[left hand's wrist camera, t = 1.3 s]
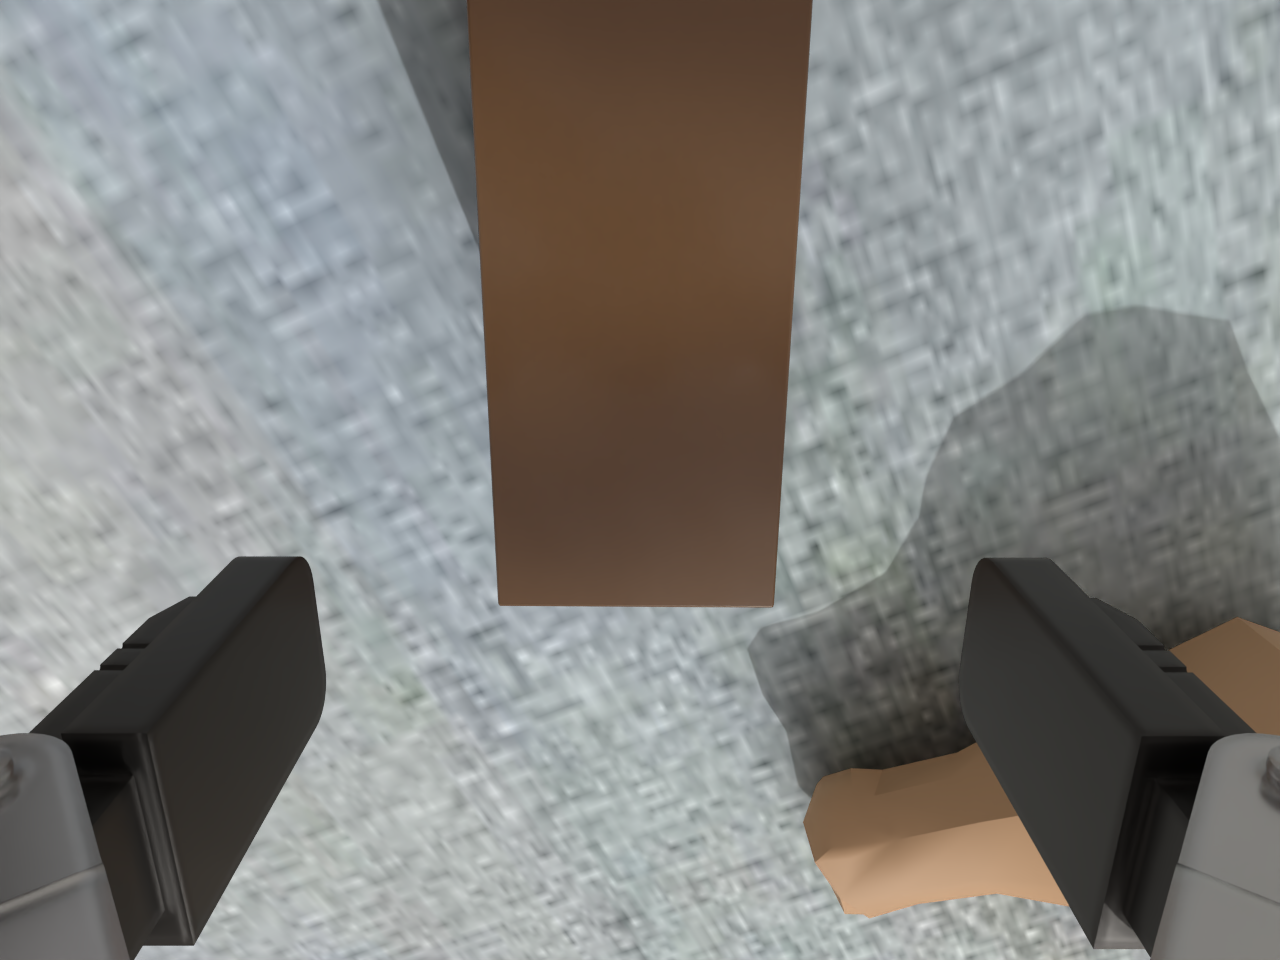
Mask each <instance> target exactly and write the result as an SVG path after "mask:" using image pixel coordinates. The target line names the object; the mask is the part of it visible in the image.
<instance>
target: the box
mask: <svg viewBox="0 0 1280 960" xmlns="http://www.w3.org/2000/svg"><path fill="white" fill-rule="evenodd" d="M466 2H467V21H468V40H469V59H470V78H471V97H472V115H473V134H474V153H475V172H476V191H477V210H478V229H479V248H480V267H481V286H482V305H483V324H484V343H485V362H486V380H487V399H488V418H489V437H490V456H491V475H492V494H493V513H494V532H495V551H496V570H497V589H498V603H499V605H500V606H624V607H773V605H774V594H775V579H776V563H777V548H778V532H779V517H780V501H781V485H782V470H783V454H784V439H785V423H786V408H787V392H788V376H789V361H790V345H791V330H792V314H793V299H794V283H795V268H796V252H797V236H798V221H799V205H800V190H801V174H802V159H803V143H804V128H805V112H806V96H807V81H808V65H809V50H810V34H811V19H812V3H813V0H466Z"/></svg>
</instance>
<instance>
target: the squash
mask: <svg viewBox="0 0 1280 960" xmlns="http://www.w3.org/2000/svg"><path fill="white" fill-rule="evenodd" d="M1168 651H1171V652H1172V653H1173V654H1174V655H1175V656H1176V657H1177V658H1178V659H1179V660H1180V661H1181V662H1182V663H1183V664H1184V665H1185V666H1186V667H1187V672H1193V673H1194V674H1195V675H1196V676H1197V677H1198V678H1199V679H1200V680H1201V681H1202V682H1203V683H1204V684H1205V685H1206V686H1208V687H1209V688H1210V689H1211V690H1212V691H1213V692H1214V693H1215V694H1216V695H1217V696H1218V697H1219V698H1220V699H1221V700H1222V701H1223V702H1224V703H1225V704H1227V705H1228V706H1229V707H1230V708H1231V709H1232V710H1233V711H1234V712H1235V713H1236V714H1237V715H1238V716H1239V717H1240V718H1241V719H1242V720H1243V721H1244V722H1246V723H1247V724H1248V725H1249V726H1250V727H1251V728H1252V729H1253V730H1254V731H1255V732H1256V733H1262V734H1271V735H1278V736H1280V632H1278V631H1275V630H1272V629H1269V628H1267V627H1264V626H1261V625H1258V624H1255V623H1253V622H1250V621H1247V620H1244V619H1241V618H1239V617H1236V618H1234V619H1232V620H1230V621H1228V622H1226V623H1224V624H1222V625H1220V626H1218V627H1215V628H1213V629H1211V630H1209V631H1207V632H1205V633H1203V634H1201V635H1199V636H1197V637H1195V638H1193V639H1190V640H1188V641H1186V642H1184V643H1182V644H1180V645H1178V646H1176V647H1174V648H1172V649H1170V650H1168ZM803 823H804V827H805V830H806V833H807V837H808V840H809V844H810V847H811V850H812V854H813V857H814V861H815V863H816V865H817V866H818V868H819V869H820V870H821V872H822V873H823V875H824V876H825V878H826V879H827V880H828V882H829V883H830V885H831V887H832V889H833V891H834V893H835V895H836V897H837V899H838V901H839V903H840V905H841V907H842V909H843V911H844V913H845V914H864V915H865V916H867V917H868V918H872V917H875V916H879V915H882V914H886V913H889V912H892V911H896V910H899V909H902V908H906V907H909V906H913V905H916V904H921V903H929V902H936V901H944V900H951V899H959V898H966V897H974V896H981V895H989V894H996V893H997V894H1003V895H1009V896H1014V897H1020V898H1025V899H1031V900H1036V901H1042V902H1048V903H1053V904H1059V905H1064V906H1069V905H1068V903H1067V901H1066V899H1065V898H1064V896H1063V894H1062V892H1061V891H1060V889H1059V887H1058V885H1057V884H1056V882H1055V880H1054V878H1053V876H1052V875H1051V873H1050V871H1049V869H1048V868H1047V866H1046V864H1045V862H1044V861H1043V859H1042V857H1041V855H1040V854H1039V852H1038V850H1037V848H1036V846H1035V845H1034V843H1033V841H1032V839H1031V838H1030V836H1029V834H1028V832H1027V831H1026V829H1025V827H1024V825H1023V824H1022V822H1021V820H1020V818H1019V817H1018V815H1017V813H1016V811H1015V809H1014V808H1013V806H1012V804H1011V802H1010V801H1009V799H1008V797H1007V795H1006V794H1005V792H1004V790H1003V788H1002V787H1001V785H1000V783H999V781H998V779H997V778H996V776H995V774H994V772H993V771H992V769H991V767H990V765H989V764H988V762H987V760H986V758H985V757H984V755H983V753H982V751H981V749H980V748H979V746H978V744H977V742H976V743H974V744H972V745H970V746H968V747H967V748H965V749H963V750H961V751H959V752H957V753H953V754H948V755H944V756H940V757H935V758H931V759H927V760H922V761H918V762H914V763H910V764H905V765H901V766H897V767H892V768H888V769H884V770H877V769H857V768H850V769H847V770H843V771H840V772H837V773H834V774H830V775H827V776H824V777H822V779H821V780H820V781H819V782H818V783H817V785H816V787H815V790H814V793H813V796H812V799H811V801H810V804H809V807H808V810H807V813H806V816H805V819H804V821H803Z"/></svg>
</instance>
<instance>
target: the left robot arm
mask: <svg viewBox="0 0 1280 960" xmlns="http://www.w3.org/2000/svg"><path fill="white" fill-rule="evenodd" d="M325 692H326V671H325V663H324V656H323V648H322V641H321V634H320V627H319V619H318V612H317V605H316V597H315V590H314V583H313V577H312V572H311V569H310V566H309V564H308V562H307V561H306V560H305V559H304V558H303V557H236V558H235V559H233V560H232V561H231V562H230V563H229V564H228V565H227V566H226V567H225V568H224V569H223V570H222V571H221V572H220V573H219V574H218V575H217V576H216V577H215V578H214V579H213V580H212V581H211V582H210V583H209V584H208V585H207V586H206V587H205V588H204V589H203V590H202V591H201V592H200V593H199V594H198V595H197V596H196V597H188V598H186V599H184V600H182V601H180V602H178V603H177V604H175V605H173V606H171V607H169V608H167V609H165V610H163V611H162V612H160V613H158V614H156V615H154V616H152V617H150V618H149V619H148V620H147V621H146V622H145V623H144V624H142V625H141V626H140V627H139V628H138V629H137V630H136V631H135V632H134V633H133V634H132V635H131V636H130V637H129V638H128V639H127V640H126V641H125V642H124V643H123V647H122V649H116V650H115V651H114V652H113V653H112V654H111V655H110V656H109V657H108V658H107V659H106V660H105V661H104V662H103V663H102V664H101V665H100V670H94V671H93V672H92V673H91V674H90V675H89V676H88V677H87V678H86V679H85V680H84V681H83V682H82V683H81V684H80V685H79V686H78V687H77V688H76V689H74V690H73V691H72V692H71V693H70V694H69V695H68V696H67V697H66V698H65V699H64V700H63V701H62V702H61V703H60V704H59V705H58V706H57V707H56V708H55V709H54V710H52V711H51V712H50V713H49V714H48V715H47V716H46V717H45V718H44V719H43V720H42V721H41V722H40V723H39V724H38V725H37V726H36V727H35V728H34V729H33V730H32V731H31V732H29V733H18V734H9V735H2V736H0V960H134V959H135V957H136V956H137V954H138V952H139V951H140V949H141V948H142V946H194V944H195V943H196V941H197V939H198V937H199V935H200V934H201V932H202V930H203V928H204V926H205V925H206V923H207V921H208V919H209V918H210V916H211V914H212V912H213V910H214V909H215V907H216V905H217V903H218V901H219V900H220V898H221V896H222V894H223V893H224V891H225V889H226V887H227V885H228V884H229V882H230V880H231V878H232V876H233V875H234V873H235V871H236V869H237V868H238V866H239V864H240V862H241V860H242V859H243V857H244V855H245V853H246V851H247V850H248V848H249V846H250V844H251V843H252V841H253V839H254V837H255V835H256V834H257V832H258V830H259V828H260V826H261V825H262V823H263V821H264V819H265V818H266V816H267V814H268V812H269V810H270V809H271V807H272V805H273V803H274V801H275V800H276V798H277V796H278V794H279V793H280V791H281V789H282V787H283V785H284V784H285V782H286V780H287V778H288V777H289V775H290V773H291V771H292V769H293V768H294V766H295V764H296V762H297V760H298V759H299V757H300V755H301V753H302V752H303V750H304V748H305V746H306V744H307V743H308V741H309V739H310V737H311V735H312V734H313V732H314V730H315V728H316V727H317V724H318V722H319V720H320V717H321V714H322V710H323V706H324V701H325ZM959 696H960V703H961V708H962V713H963V716H964V719H965V722H966V724H967V726H968V728H969V730H970V732H971V734H972V735H973V737H974V739H975V741H976V742H977V744H978V746H979V748H980V749H981V751H982V753H983V755H984V757H985V758H986V760H987V762H988V764H989V765H990V767H991V769H992V771H993V772H994V774H995V776H996V778H997V779H998V781H999V783H1000V785H1001V787H1002V788H1003V790H1004V792H1005V794H1006V795H1007V797H1008V799H1009V801H1010V802H1011V804H1012V806H1013V808H1014V809H1015V811H1016V813H1017V815H1018V817H1019V818H1020V820H1021V822H1022V824H1023V825H1024V827H1025V829H1026V831H1027V832H1028V834H1029V836H1030V838H1031V839H1032V841H1033V843H1034V845H1035V846H1036V848H1037V850H1038V852H1039V854H1040V855H1041V857H1042V859H1043V861H1044V862H1045V864H1046V866H1047V868H1048V869H1049V871H1050V873H1051V875H1052V876H1053V878H1054V880H1055V882H1056V884H1057V885H1058V887H1059V889H1060V891H1061V892H1062V894H1063V896H1064V898H1065V899H1066V901H1067V903H1068V905H1069V906H1070V908H1071V910H1072V912H1073V913H1074V915H1075V917H1076V919H1077V921H1078V922H1079V924H1080V926H1081V928H1082V929H1083V931H1084V933H1085V935H1086V936H1087V938H1088V940H1089V942H1090V943H1091V945H1092V947H1093V949H1146V951H1147V953H1148V954H1149V956H1150V957H1151V958H1150V960H1280V736H1278V735H1271V734H1262V733H1256V732H1255V731H1254V730H1253V729H1252V728H1251V727H1250V726H1249V725H1248V724H1247V723H1246V722H1244V721H1243V720H1242V719H1241V718H1240V717H1239V716H1238V715H1237V714H1236V713H1235V712H1234V711H1233V710H1232V709H1231V708H1230V707H1229V706H1228V705H1227V704H1225V703H1224V702H1223V701H1222V700H1221V699H1220V698H1219V697H1218V696H1217V695H1216V694H1215V693H1214V692H1213V691H1212V690H1211V689H1210V688H1209V687H1208V686H1206V685H1205V684H1204V683H1203V682H1202V681H1201V680H1200V679H1199V678H1198V677H1197V676H1196V675H1195V674H1194V673H1193V672H1187V667H1186V666H1185V665H1184V664H1183V663H1182V662H1181V661H1180V660H1179V659H1178V658H1177V657H1176V656H1175V655H1174V654H1173V653H1172V652H1171V651H1165V650H1164V645H1163V644H1162V643H1161V642H1160V641H1159V640H1158V639H1157V638H1156V637H1155V636H1154V635H1153V634H1152V633H1150V632H1149V631H1148V630H1147V629H1146V628H1145V627H1144V626H1143V625H1142V624H1141V623H1140V622H1139V621H1138V620H1136V619H1135V618H1133V617H1131V616H1129V615H1127V614H1125V613H1123V612H1121V611H1120V610H1118V609H1116V608H1114V607H1112V606H1110V605H1108V604H1106V603H1105V602H1103V601H1101V600H1099V599H1097V598H1089V597H1088V596H1087V595H1086V594H1085V593H1084V592H1083V591H1082V590H1081V589H1080V588H1079V587H1078V586H1077V585H1076V584H1075V583H1074V582H1073V581H1072V580H1071V579H1070V578H1069V577H1068V576H1067V575H1066V574H1065V573H1064V572H1063V571H1062V570H1061V569H1060V568H1059V567H1058V566H1057V565H1056V564H1055V563H1054V562H1053V561H1052V560H1051V559H1048V558H983V559H981V560H980V561H979V562H978V564H977V565H976V568H975V570H974V574H973V579H972V585H971V592H970V599H969V606H968V613H967V620H966V628H965V635H964V642H963V649H962V656H961V663H960V671H959Z"/></svg>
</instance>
